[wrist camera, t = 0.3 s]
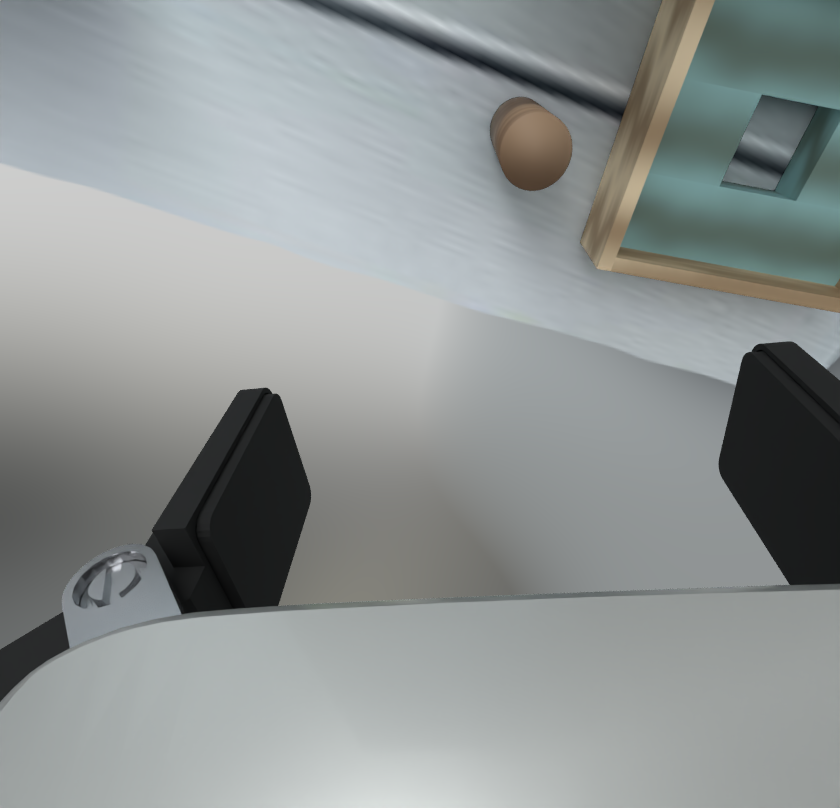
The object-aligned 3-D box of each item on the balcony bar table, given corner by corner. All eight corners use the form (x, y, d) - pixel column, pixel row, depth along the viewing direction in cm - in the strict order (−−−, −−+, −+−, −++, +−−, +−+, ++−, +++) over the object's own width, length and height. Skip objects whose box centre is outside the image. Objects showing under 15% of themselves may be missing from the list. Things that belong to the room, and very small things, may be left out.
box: (679, -50, 32) (720, -66, 27) (986, 16, 33) (1080, 12, 28) (580, 242, 42) (596, 268, 37) (817, 285, 43) (864, 317, 38)
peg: (497, 91, 37) (510, 106, 28) (553, 102, 37) (582, 120, 29) (484, 153, 39) (492, 184, 31) (537, 163, 39) (559, 196, 31)
